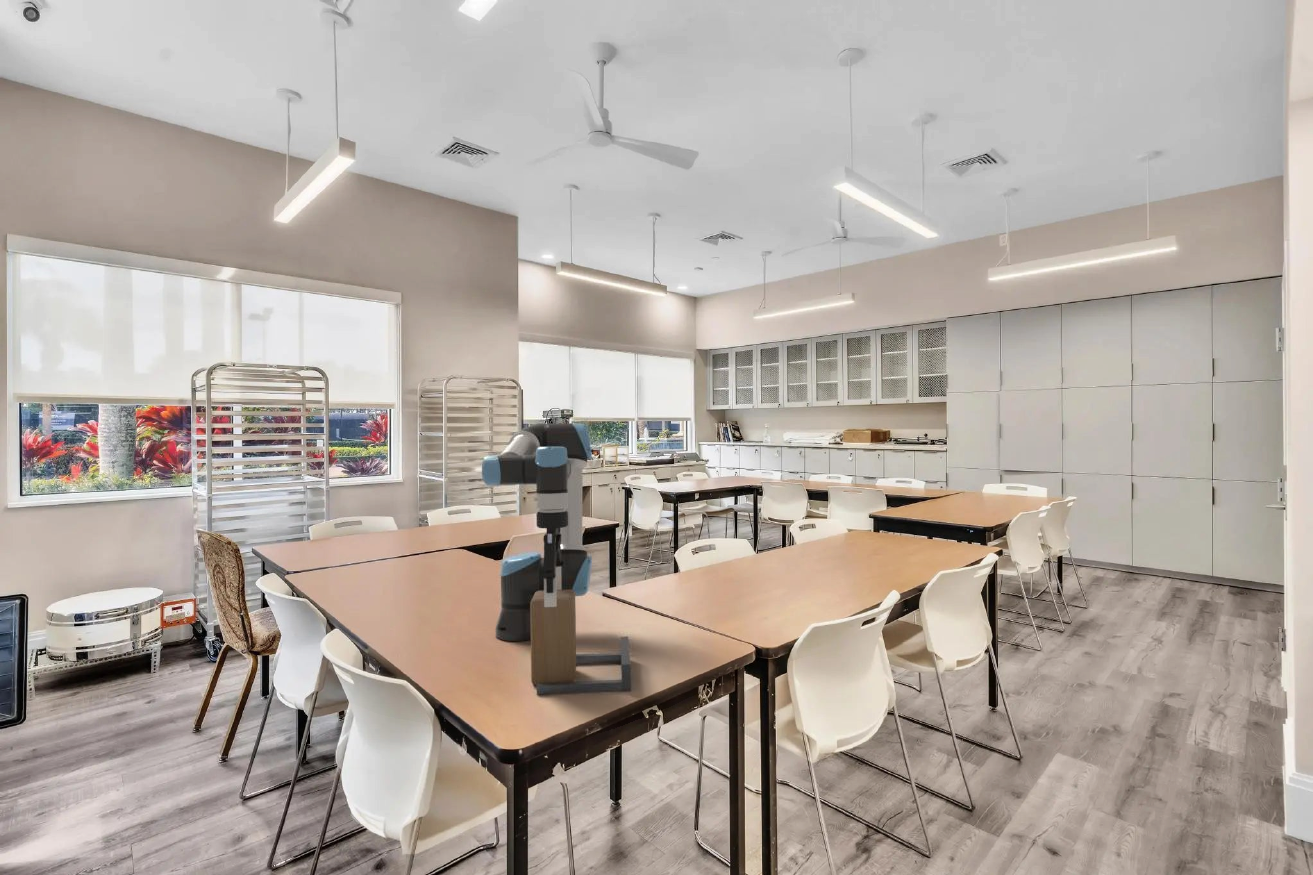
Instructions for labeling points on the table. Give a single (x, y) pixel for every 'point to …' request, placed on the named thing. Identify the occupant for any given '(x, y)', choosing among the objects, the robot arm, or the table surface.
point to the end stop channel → (598, 685)
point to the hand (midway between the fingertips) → (553, 599)
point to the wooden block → (553, 638)
